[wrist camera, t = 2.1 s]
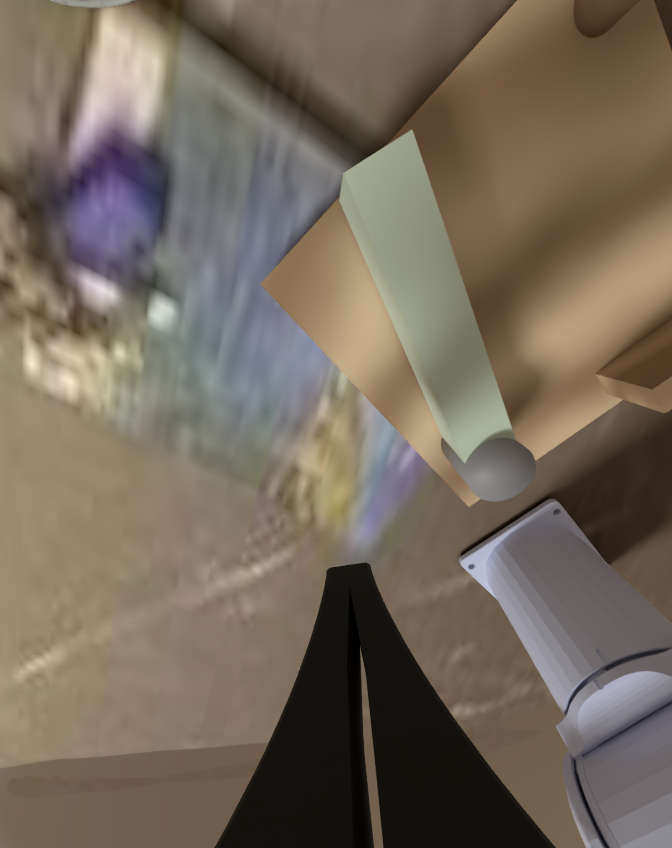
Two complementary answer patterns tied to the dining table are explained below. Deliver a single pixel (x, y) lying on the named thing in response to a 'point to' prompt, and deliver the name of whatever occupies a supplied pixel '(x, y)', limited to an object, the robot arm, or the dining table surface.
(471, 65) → the stool seat
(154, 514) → the dining table surface
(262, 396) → the dining table surface
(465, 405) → the leg
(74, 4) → the ceramic mug
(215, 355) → the dining table surface
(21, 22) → the dining table surface
